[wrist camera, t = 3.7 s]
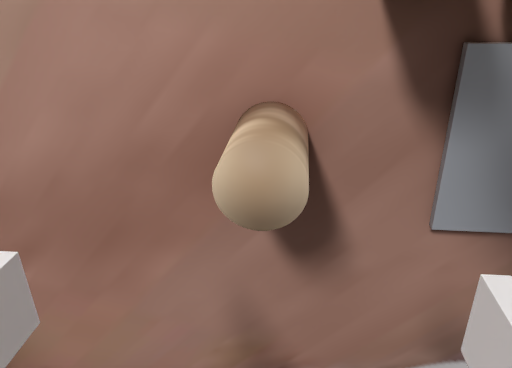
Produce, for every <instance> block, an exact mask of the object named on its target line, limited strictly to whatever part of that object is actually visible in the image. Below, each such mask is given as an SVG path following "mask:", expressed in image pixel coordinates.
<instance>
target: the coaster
mask: <svg viewBox="0 0 512 368" xmlns="http://www.w3.org/2000/svg"><path fill="white" fill-rule="evenodd" d="M429 225H430V227H431V229H432V230H455V231H477V232H499V233H512V42H464V44H463V50H462V55H461V60H460V65H459V71H458V76H457V81H456V86H455V92H454V97H453V102H452V107H451V113H450V118H449V123H448V128H447V134H446V139H445V144H444V149H443V155H442V160H441V165H440V170H439V176H438V181H437V186H436V191H435V197H434V202H433V207H432V212H431V218H430V223H429Z"/></svg>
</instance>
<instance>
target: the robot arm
mask: <svg viewBox="0 0 512 368" xmlns="http://www.w3.org/2000/svg"><path fill="white" fill-rule="evenodd" d="M39 323H40V321H39V318H38V314H37V311H36V308H35V305H34V302H33V298H32V295H31V292H30V289H29V286H28V282H27V279H26V276H25V273H24V270H23V266H22V263H21V260H20V257H19V254H18V252H6V251H0V368H5V367H6V366H7V365H8V364H9V362H10V361H11V360H12V358H13V357H14V356H15V354H16V353H17V352H18V351H19V349H20V348H21V347H22V345H23V344H24V343H25V341H26V340H27V339H28V338H29V336H30V335H31V334H32V332H33V331H34V330H35V329H36V327H37V326H38V325H39ZM461 352H462V354H463V356H464V359H465V361H466V363H467V366H468V368H512V276H507V275H486V274H481V275H480V279H479V283H478V287H477V290H476V294H475V298H474V302H473V306H472V309H471V313H470V317H469V321H468V325H467V328H466V332H465V336H464V340H463V344H462V347H461Z"/></svg>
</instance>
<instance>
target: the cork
mask: <svg viewBox="0 0 512 368" xmlns="http://www.w3.org/2000/svg"><path fill="white" fill-rule="evenodd" d="M212 191H213V196H214V199H215V201H216V204H217V205H218V207H219V209H220V210H221V211H222V213H223V214H224V215H225V216H226V217H227V218H228V219H230V220H231V221H232V222H234V223H236V224H237V225H239V226H242V227H244V228H247V229H251V230H257V231H269V230H275V229H279V228H281V227H284V226H286V225H288V224H289V223H291V222H292V221H294V220H295V219H296V218H297V217H298V216H299V215H300V214H301V212H302V211H303V209H304V207H305V205H306V203H307V200H308V195H309V152H308V130H307V126H306V124H305V122H304V120H303V118H302V117H301V116H300V114H299V113H298V112H297V111H295V110H294V109H293V108H291V107H290V106H288V105H286V104H283V103H279V102H263V103H259V104H257V105H254V106H252V107H251V108H249V109H248V110H247V111H246V112H245V113H244V114H243V115H242V116H241V118H240V119H239V121H238V123H237V126H236V128H235V130H234V132H233V134H232V136H231V138H230V140H229V142H228V144H227V146H226V148H225V150H224V153H223V155H222V157H221V159H220V161H219V163H218V165H217V167H216V169H215V171H214V175H213V179H212Z"/></svg>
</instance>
